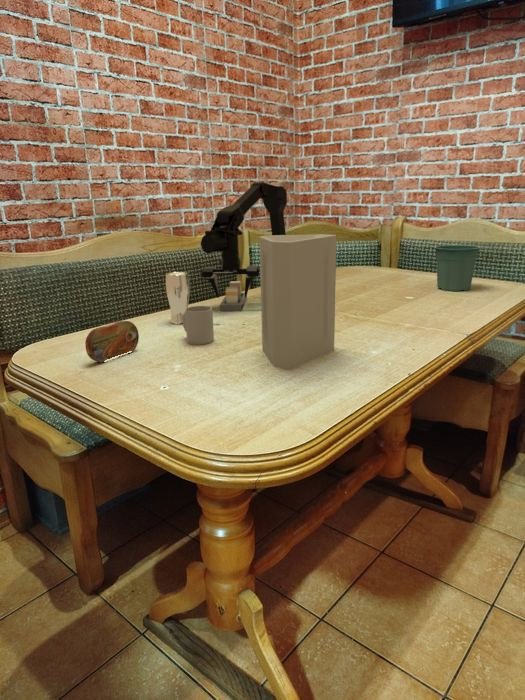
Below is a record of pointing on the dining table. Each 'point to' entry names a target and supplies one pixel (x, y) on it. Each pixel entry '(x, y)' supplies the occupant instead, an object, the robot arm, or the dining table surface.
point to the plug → (232, 295)
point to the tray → (252, 307)
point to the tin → (111, 340)
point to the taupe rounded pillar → (297, 297)
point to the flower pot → (455, 266)
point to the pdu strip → (234, 306)
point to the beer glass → (177, 294)
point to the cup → (198, 324)
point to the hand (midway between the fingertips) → (231, 297)
